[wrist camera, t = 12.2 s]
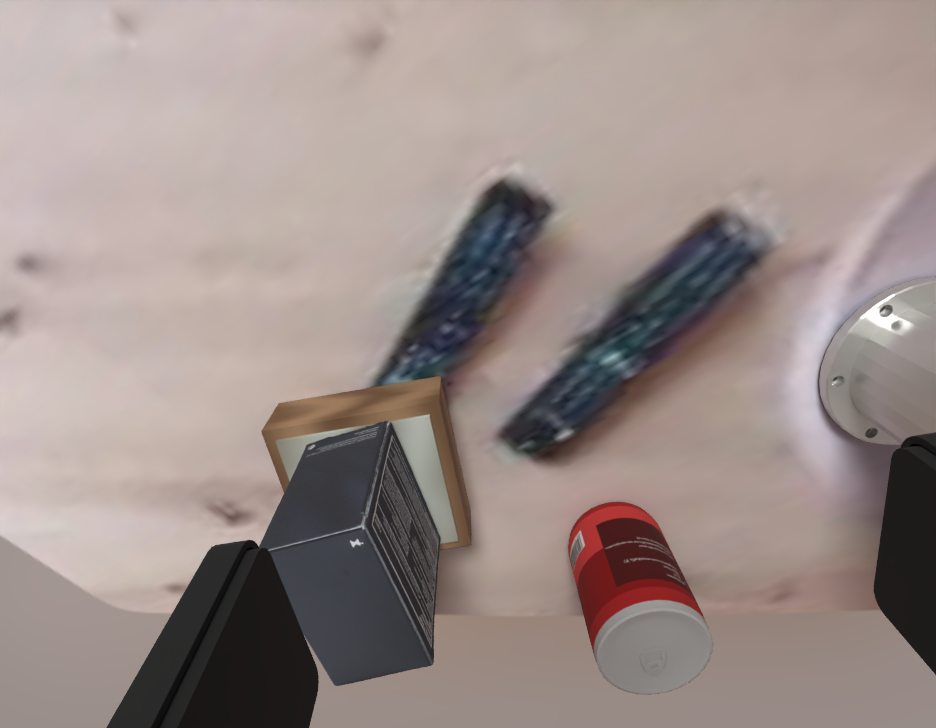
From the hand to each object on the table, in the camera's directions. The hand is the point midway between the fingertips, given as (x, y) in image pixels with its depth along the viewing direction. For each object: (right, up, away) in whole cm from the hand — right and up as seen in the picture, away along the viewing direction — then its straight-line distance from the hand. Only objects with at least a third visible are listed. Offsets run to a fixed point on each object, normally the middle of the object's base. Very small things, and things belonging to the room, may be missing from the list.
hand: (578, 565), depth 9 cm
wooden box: (-8, -4, +35) cm, 36 cm away
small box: (-8, -6, +31) cm, 33 cm away
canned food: (+10, -11, +38) cm, 41 cm away
